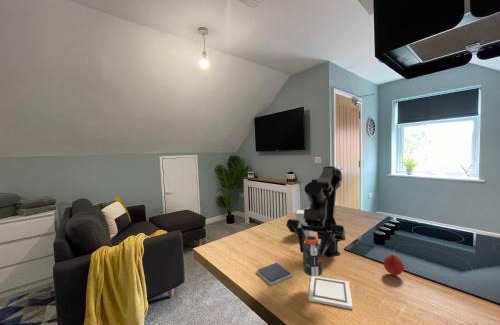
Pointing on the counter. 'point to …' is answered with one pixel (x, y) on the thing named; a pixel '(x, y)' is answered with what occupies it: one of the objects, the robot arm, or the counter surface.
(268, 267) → the ink pad
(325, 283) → the board
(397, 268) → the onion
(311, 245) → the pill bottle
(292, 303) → the counter surface
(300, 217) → the supplement box
